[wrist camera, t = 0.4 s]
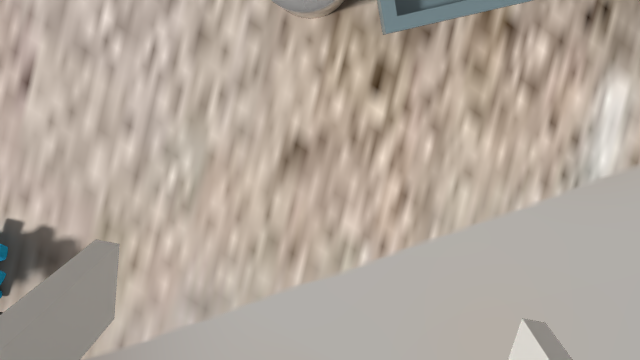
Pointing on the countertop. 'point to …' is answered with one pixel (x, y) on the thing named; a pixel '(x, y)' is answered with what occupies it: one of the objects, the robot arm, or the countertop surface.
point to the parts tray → (431, 11)
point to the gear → (0, 255)
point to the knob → (309, 7)
